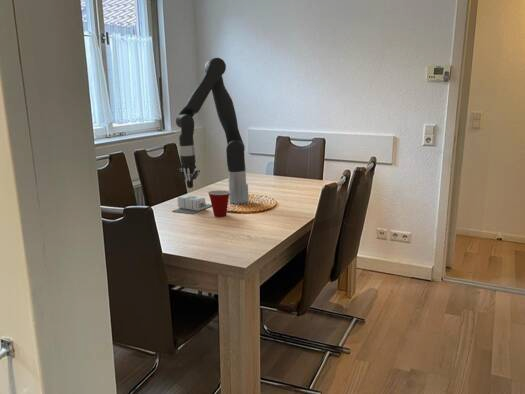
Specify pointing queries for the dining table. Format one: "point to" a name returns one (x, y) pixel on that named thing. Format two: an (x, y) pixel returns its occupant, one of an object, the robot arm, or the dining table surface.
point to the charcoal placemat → (189, 211)
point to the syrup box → (191, 202)
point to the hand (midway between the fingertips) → (190, 187)
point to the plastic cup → (219, 202)
